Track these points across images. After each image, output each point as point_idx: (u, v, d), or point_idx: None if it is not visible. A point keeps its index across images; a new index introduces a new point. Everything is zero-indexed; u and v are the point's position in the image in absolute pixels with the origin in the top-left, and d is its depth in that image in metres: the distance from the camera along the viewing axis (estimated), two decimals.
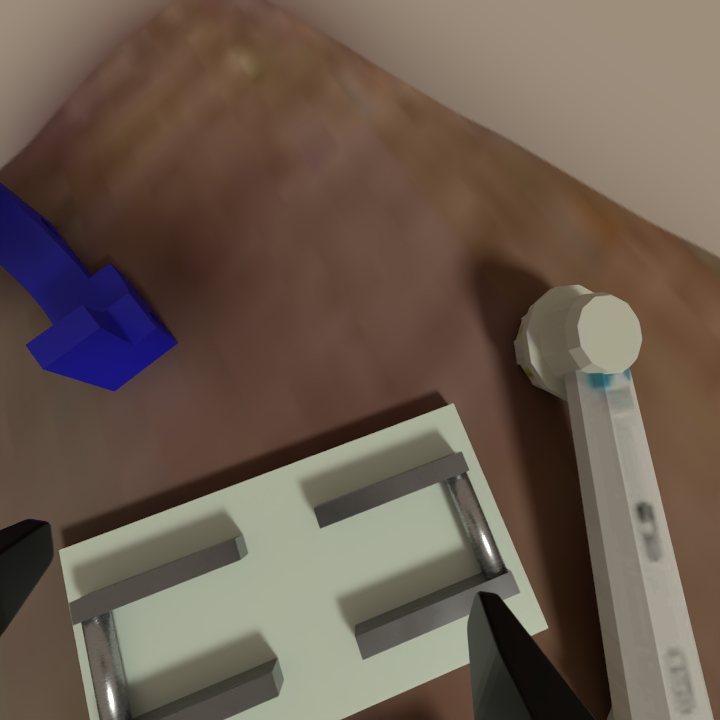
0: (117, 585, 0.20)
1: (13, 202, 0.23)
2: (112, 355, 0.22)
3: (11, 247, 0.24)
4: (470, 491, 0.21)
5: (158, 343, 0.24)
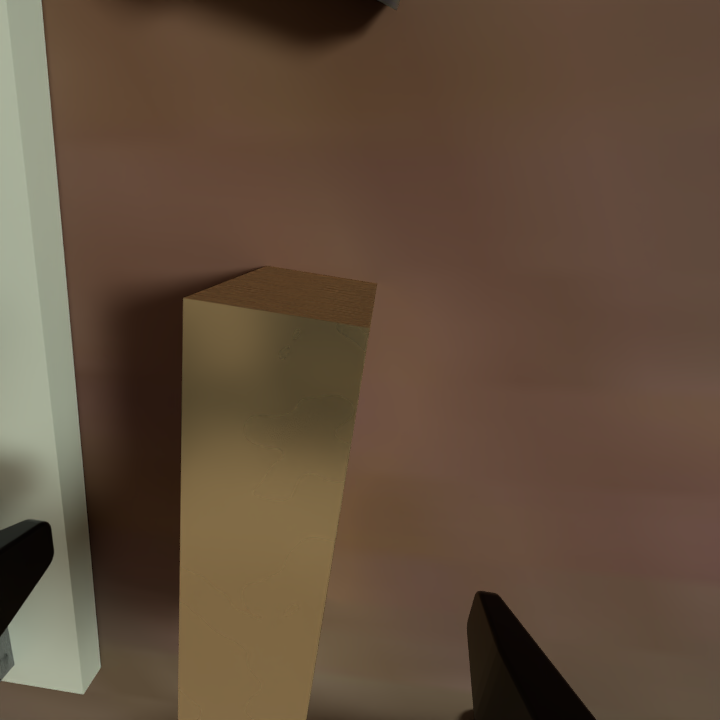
0: None
1: None
2: None
3: None
4: None
5: None
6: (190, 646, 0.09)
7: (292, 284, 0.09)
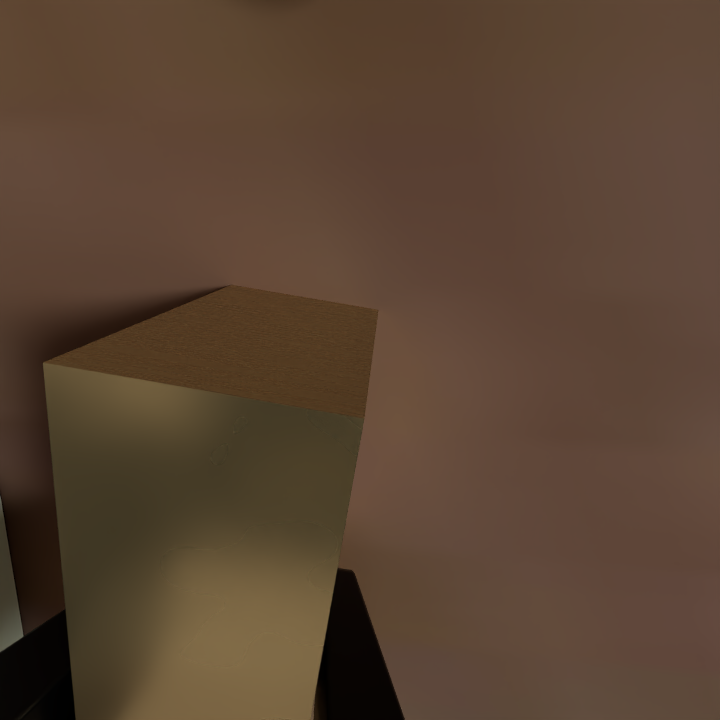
0: None
1: None
2: None
3: None
4: None
5: None
6: None
7: (256, 318, 0.06)
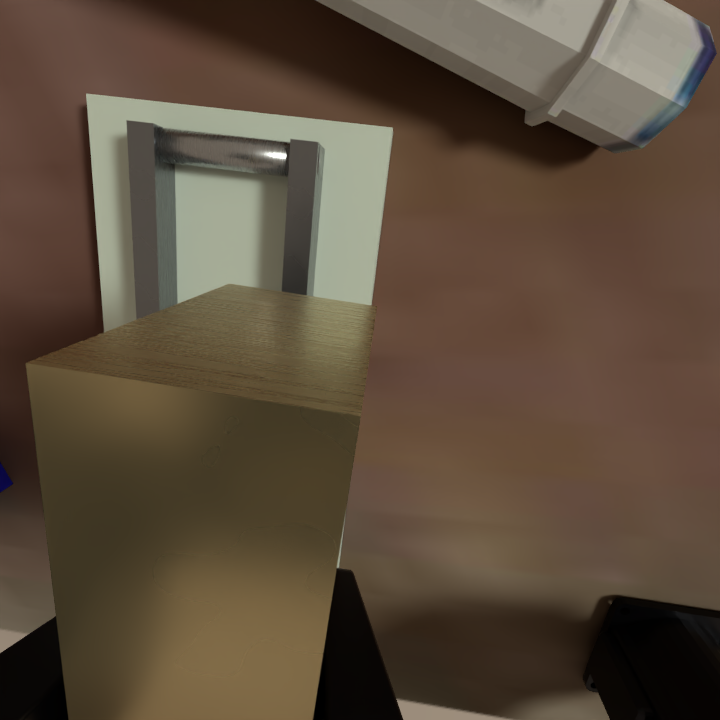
0: None
1: None
2: None
3: None
4: (184, 137, 0.15)
5: None
6: None
7: (250, 317, 0.06)
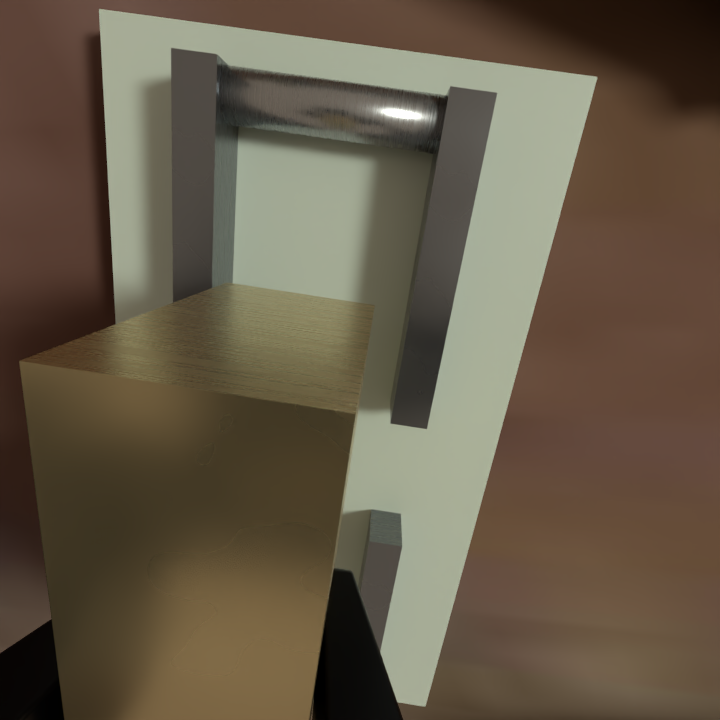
0: None
1: None
2: None
3: None
4: (265, 81, 0.09)
5: None
6: None
7: (247, 315, 0.06)
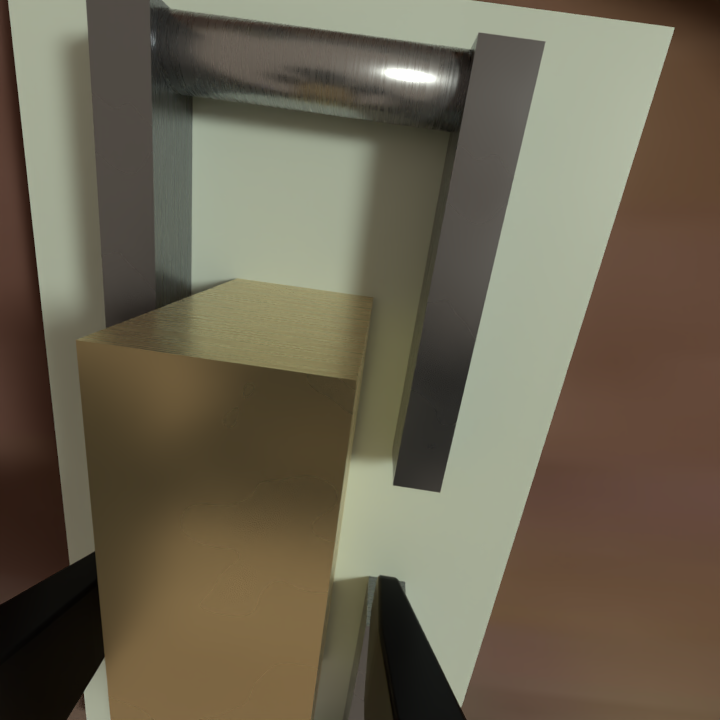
0: None
1: None
2: None
3: None
4: (220, 28, 0.07)
5: None
6: None
7: (259, 306, 0.07)
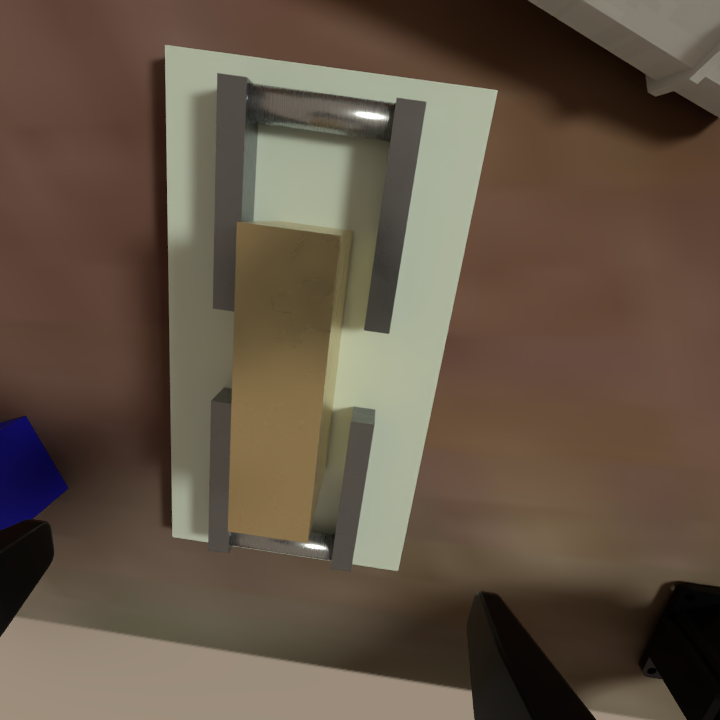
0: (209, 512, 0.20)
1: None
2: None
3: None
4: (278, 94, 0.14)
5: (10, 440, 0.21)
6: (237, 455, 0.15)
7: (296, 225, 0.15)
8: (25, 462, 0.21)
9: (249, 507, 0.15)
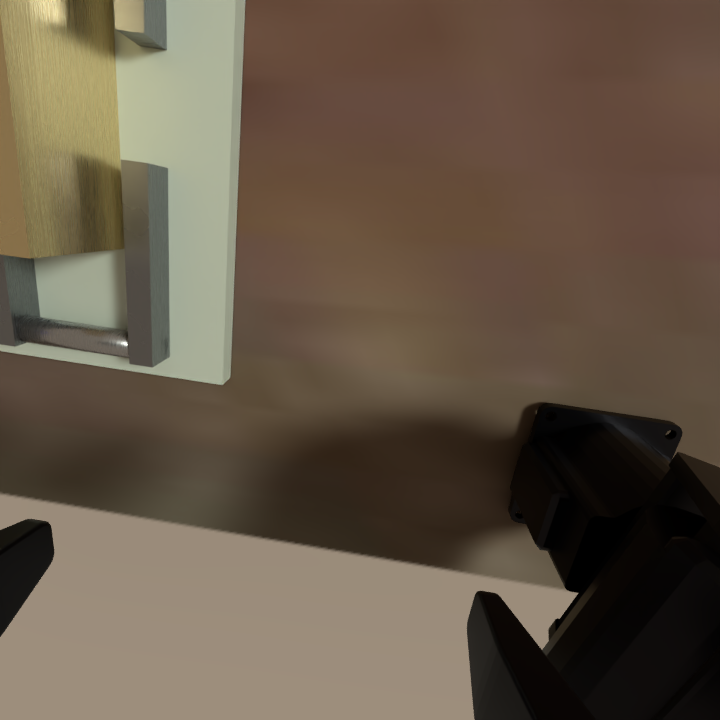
0: None
1: None
2: None
3: None
4: None
5: None
6: None
7: None
8: None
9: None
